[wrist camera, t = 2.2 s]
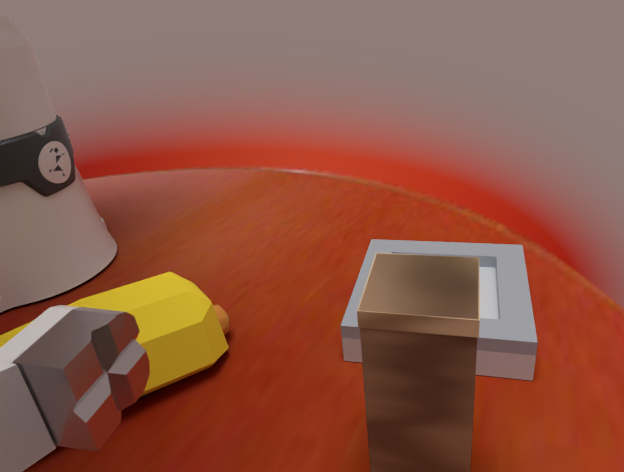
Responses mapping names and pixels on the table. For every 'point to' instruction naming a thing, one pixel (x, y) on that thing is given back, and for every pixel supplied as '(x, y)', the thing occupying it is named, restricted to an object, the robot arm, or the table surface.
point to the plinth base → (493, 304)
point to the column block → (420, 361)
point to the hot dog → (165, 325)
